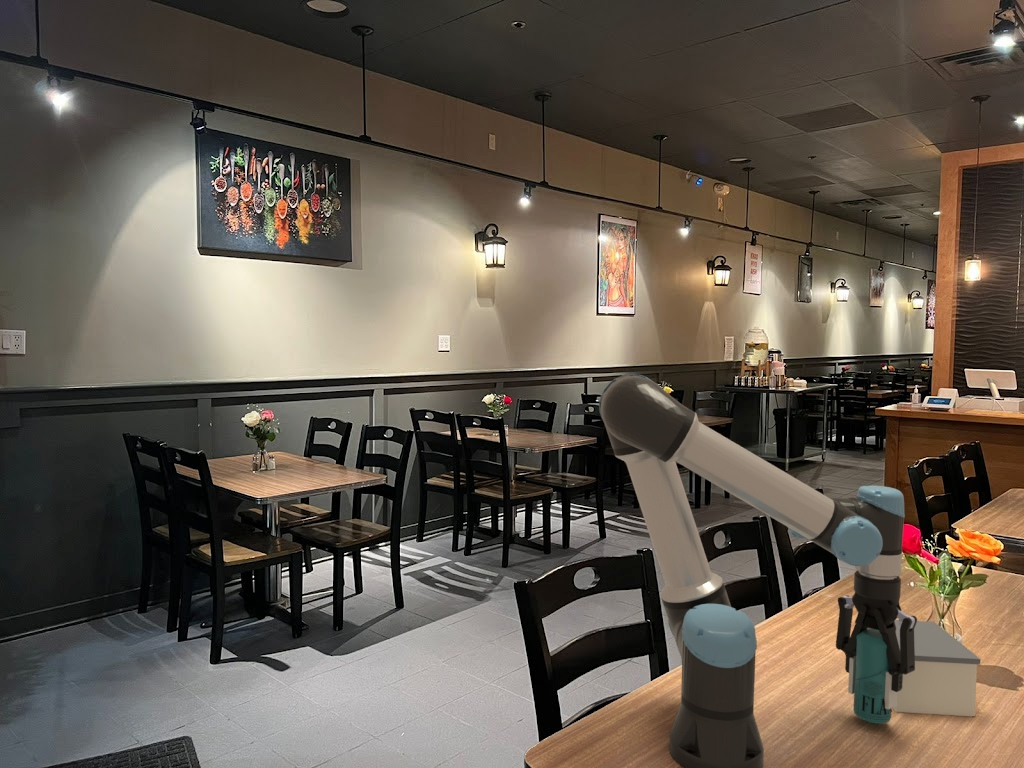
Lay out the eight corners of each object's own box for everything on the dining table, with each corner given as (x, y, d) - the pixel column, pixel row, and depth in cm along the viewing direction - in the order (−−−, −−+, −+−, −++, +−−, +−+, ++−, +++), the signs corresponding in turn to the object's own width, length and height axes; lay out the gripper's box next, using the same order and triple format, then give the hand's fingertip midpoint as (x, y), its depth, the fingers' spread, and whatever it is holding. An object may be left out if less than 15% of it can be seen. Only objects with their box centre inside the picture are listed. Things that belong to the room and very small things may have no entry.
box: (895, 711, 139) (897, 659, 139) (860, 670, 157) (862, 623, 157) (974, 716, 138) (977, 663, 137) (930, 673, 156) (932, 627, 155)
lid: (898, 659, 138) (898, 654, 138) (861, 622, 157) (862, 618, 157) (980, 664, 137) (980, 659, 137) (933, 626, 155) (934, 621, 155)
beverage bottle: (855, 729, 132) (860, 618, 131) (849, 711, 139) (853, 606, 138) (895, 734, 131) (900, 623, 130) (887, 717, 137) (892, 610, 136)
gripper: (943, 584, 128) (937, 715, 129) (840, 557, 143) (835, 674, 145) (920, 592, 123) (914, 727, 125) (817, 562, 139) (812, 683, 141)
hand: (872, 698), depth 135 cm, fingers closed on beverage bottle, 6 cm apart
